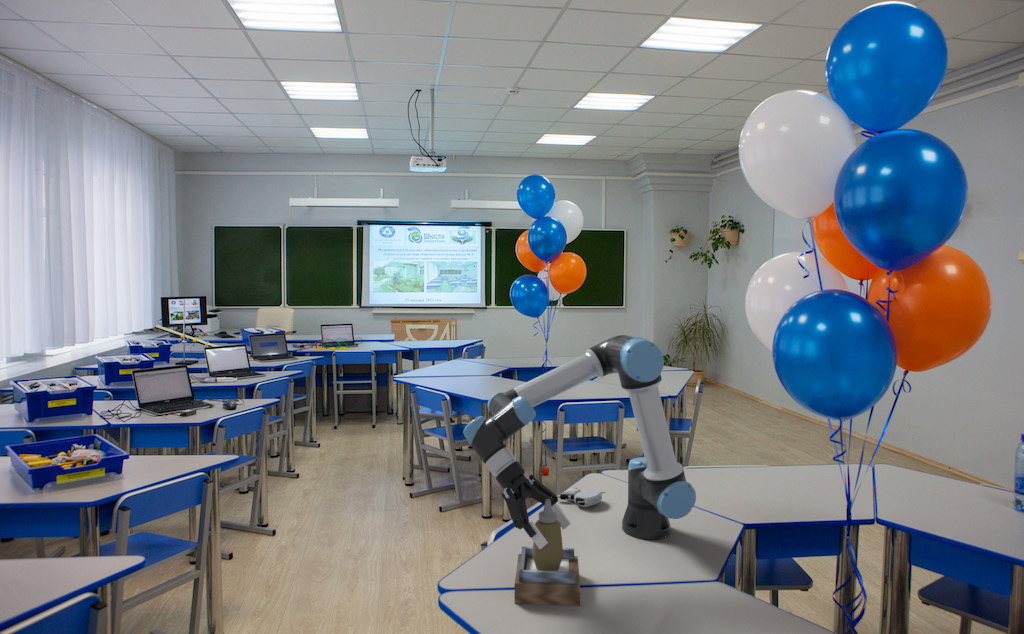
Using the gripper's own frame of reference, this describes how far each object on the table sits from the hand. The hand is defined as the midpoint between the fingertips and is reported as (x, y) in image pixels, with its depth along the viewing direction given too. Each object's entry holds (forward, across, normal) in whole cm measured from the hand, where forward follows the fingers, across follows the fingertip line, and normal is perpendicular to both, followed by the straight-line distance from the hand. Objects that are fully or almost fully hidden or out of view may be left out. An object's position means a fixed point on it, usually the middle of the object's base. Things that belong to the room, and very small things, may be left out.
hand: (556, 536), depth 152 cm
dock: (+8, 0, -12) cm, 14 cm away
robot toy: (-3, -60, -24) cm, 64 cm away
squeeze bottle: (+5, 0, -8) cm, 9 cm away
